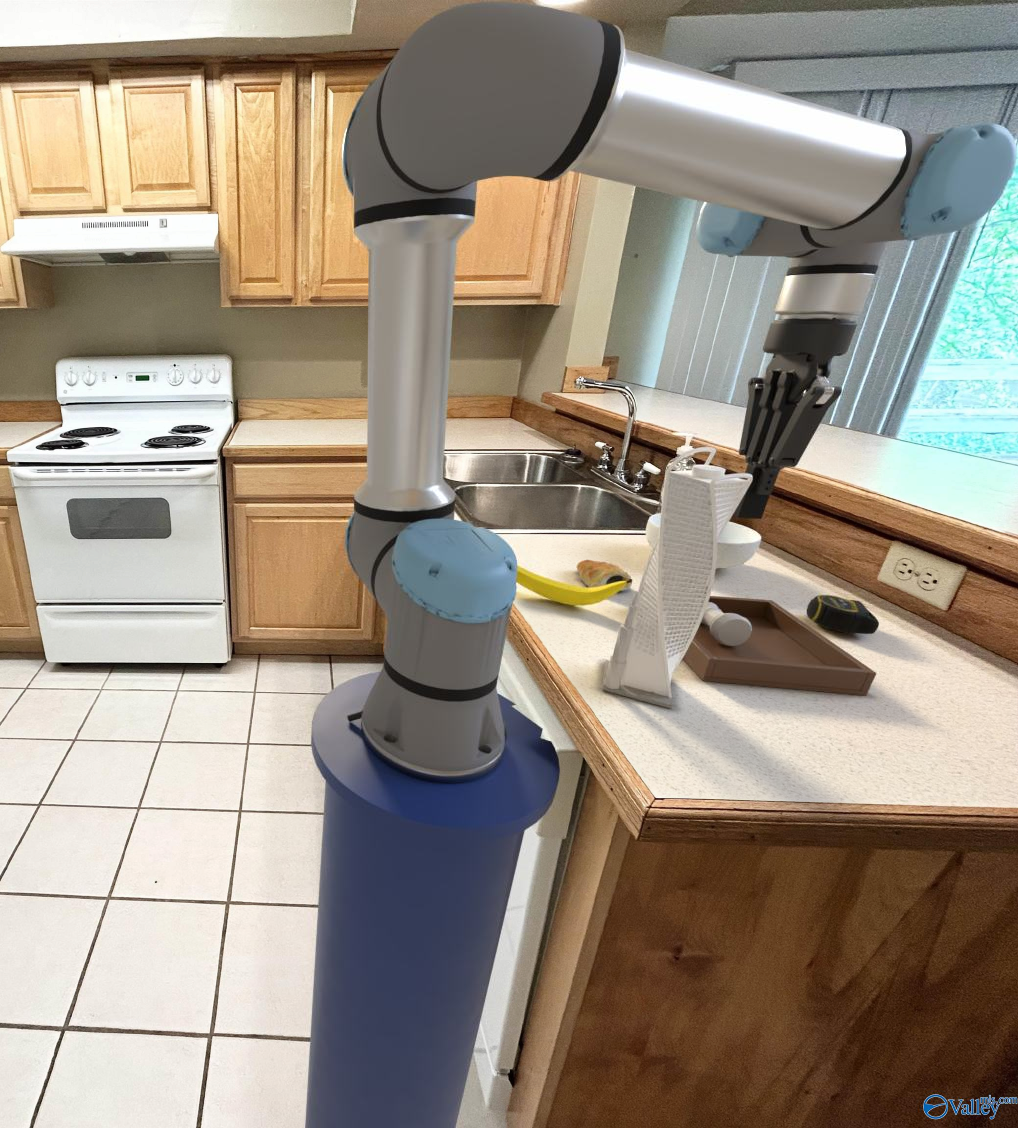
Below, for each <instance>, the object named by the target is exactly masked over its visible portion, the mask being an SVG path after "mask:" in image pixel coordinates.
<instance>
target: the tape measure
mask: <svg viewBox="0 0 1018 1128" xmlns="http://www.w3.org/2000/svg"><path fill="white" fill-rule="evenodd" d="M806 616H807V618H808V619H809V620H810V621H812V622H813V623H814V624H816V625H818V626H821V628H824V629H829V630H832V631H835V632H836V631H837V632H839V633H847V634H848V633H849V634H859V635H872V634H874V633H876V632H877V630H878V628H879V626H880V622H879V619H878V618H877V617H876V616H875V615H874V614H873V613H872V612H871V611H870V610H869V609H868V608H867V607H866V606H865V604H864V603H862V601H859V600H856V599H847V598H845V597H840V596H838V595H832V594H819V595H816V596H814V597H813V598H812V599H810V601H809V603H808V605H807V607H806Z"/></svg>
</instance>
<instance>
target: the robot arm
mask: <svg viewBox="0 0 1018 1128" xmlns="http://www.w3.org/2000/svg"><path fill="white" fill-rule="evenodd" d="M1016 145H1017V143H1016V141H1015V138H1014V136H1013V135H1012V134H1011V132H1010V131H1009V130H1008V129H1007V128H1006V127H1005V126H1003V125H1001V124H998V123H993V122H985V123H983V122H982V123H977V124H972V125H966V126H961V125H957V126H953V127H949V128H947V129H945V130H944V131H941V132H937V133H922V132H917V131H914V130H909V129H906V128H901V127H898V126H895V125H892V124H888V123H885V122H881V121H878V120H873V119H871V118H870V119H869V118H867V117H863V116H861V115H857V114H854V113H853V114H852V113H849V112H845V111H843V110H838V109H836V108H832V107H829V106H824V105H821V104H817V103H814V102H811V101H807V100H803V99H800V98H797V97H793V96H790V95H787V94H784V93H779V92H776V91H773V90H769V89H766V88H762V87H759V86H755V85H751V84H748V83H745V82H741V81H737V80H734V79H730V78H728V77H723V76H721V75H716V74H713V73H709V72H707V71H704V70H703V71H702V70H699V69H696V68H692V67H689V66H686V65H682V64H679V63H675V62H671V61H668V60H664V59H661V58H658V57H654V56H651V55H647V54H643V53H640V52H637V51H633V50H630V49H626V43H625V36H624V33H623V31H622V30H621V28H620V27H619V25H616V24H612V23H609V22H606V21H603V20H600V19H595V18H592V17H589V16H586V15H583V14H581V13H576V12H572V11H571V12H570V11H566V10H562V9H558V8H553V7H548V6H543V5H536V4H531V3H530V4H529V3H523V2H515V1H514V2H512V1H505V0H503V1H501V0H500V1H495V0H494V1H487V0H486V1H485V0H484V1H478V2H471V3H463V4H460V5H456V6H453V7H451V8H448V9H446V10H444V11H441V12H439V13H437V14H435V15H433V16H432V17H431V18H429V19H428V20H427V21H425V22H424V23H422V24H421V25H420V26H418V28H416V29H415V31H413V32H412V33H411V35H410V36H409V37H408V38H407V39H406V40H405V42H404V43H403V44H402V45H401V47H400V48H399V50H398V51H397V53H396V55H394V56H393V58H392V59H391V61H390V62H389V63H388V64H387V65H386V67H385V68H384V69H383V70H382V72H381V73H380V74H379V75H378V76H376V78H374V79H373V80H372V81H371V82H370V83H369V85H367V86H366V88H365V90H364V91H363V92H362V94H361V96H360V97H359V98H358V99H357V102H356V104H355V106H354V108H353V109H352V112H351V115H350V118H349V120H348V123H347V125H346V128H345V131H344V135H343V141H342V148H341V165H342V172H343V177H344V180H345V183H346V186H347V189H348V191H349V193H350V194H351V196H352V198H353V200H352V201H353V234H354V235H355V237H356V238H357V239H358V240H359V241H360V243H362V245H364V246H365V248H366V250H367V252H368V278H367V279H368V281H367V282H368V286H367V287H368V288H367V289H368V290H367V291H368V292H367V294H368V295H367V297H368V298H367V299H368V300H367V412H366V413H367V415H366V417H367V421H366V423H367V424H366V425H367V427H366V428H367V430H366V431H367V432H366V433H367V434H366V479H365V480H364V481H363V482H362V483H361V485H359V487H357V488H356V489H355V491H354V492H353V513H352V514H351V515H350V517H349V519H348V522H347V524H346V527H345V531H344V545H345V546H344V547H345V551H346V556H347V559H348V562H349V564H350V567H351V569H352V570H353V572H354V574H355V575H356V576H357V577H358V579H359V580H360V581H361V582H362V583H363V584H364V586H365V588H366V589H367V590H368V591H369V593H370V594H371V596H372V597H373V598H374V600H375V601H376V603H377V604H378V606H379V607H380V609H381V610H382V612H383V613H384V615H385V616H386V632H385V642H384V655H383V663H382V668H381V670H380V671H381V672H380V671H379V672H380V674H379V676H378V678H377V680H376V682H375V684H374V686H373V688H372V690H371V692H370V694H369V696H368V698H367V700H366V702H365V704H364V707H363V710H362V711H361V712H358V713H354V714H351V715H348V716H347V718H348V721H349V722H350V721H354V720H357V719H360V718H361V733H362V737H363V739H364V741H365V743H366V745H367V747H368V748H369V749H370V751H371V752H372V753H373V754H374V755H375V756H376V757H377V758H378V759H380V760H381V761H382V762H383V763H385V764H386V765H388V766H389V767H391V768H393V769H394V770H396V771H398V772H400V773H403V774H405V775H407V776H410V777H413V778H416V779H419V780H423V781H428V782H434V783H443V784H458V783H467V782H471V781H475V780H478V779H481V778H483V777H485V776H487V775H488V774H490V773H491V772H493V771H494V770H495V769H496V768H497V767H498V765H499V764H500V762H501V760H502V756H503V751H504V746H505V735H506V742H507V733H506V726H505V720H504V724H503V719H502V714H501V709H500V704H499V699H498V694H499V693H498V689H497V686H498V681H499V680H498V679H499V674H500V670H501V666H502V660H503V655H504V649H505V644H506V639H507V635H508V627H509V622H510V618H511V613H512V608H513V603H514V601H516V597H517V587H518V586H517V581H516V579H517V565H518V559H517V556H516V554H515V551H514V550H513V548H512V547H511V545H510V544H509V543H508V542H507V541H506V540H505V539H504V538H502V537H501V536H500V535H498V534H497V533H495V532H494V531H492V530H490V529H488V528H486V527H483V526H474V525H473V524H472V523H471V522H468V521H463V520H458V519H455V514H456V513H455V511H456V491H455V490H454V489H453V488H452V487H451V486H450V485H449V484H448V483H447V482H446V481H445V479H444V462H445V444H446V430H447V415H448V414H447V412H448V411H447V410H448V398H449V397H448V396H449V381H450V379H449V377H450V365H451V363H450V362H451V348H452V347H451V346H452V330H453V329H452V328H453V314H454V313H453V312H454V311H453V310H454V297H455V296H454V295H455V294H454V293H455V281H456V280H455V279H456V262H457V245H458V243H459V240H460V239H461V238H462V237H463V236H464V234H465V233H466V232H467V231H468V230H469V229H470V228H471V226H472V225H474V224H475V218H476V204H477V191H478V181H483V180H488V179H493V178H501V177H502V178H503V177H519V178H520V177H522V178H529V179H534V180H537V181H538V180H539V181H543V182H547V183H550V182H555V181H558V180H559V179H561V178H563V177H564V176H565V175H566V174H568V173H570V172H573V173H577V174H580V175H581V174H582V175H585V176H589V177H595V178H599V179H603V180H607V181H612V182H616V183H620V184H624V185H629V186H634V187H638V188H641V189H647V190H651V191H655V192H659V193H664V194H668V195H671V196H676V197H680V198H685V199H689V200H692V201H693V200H695V201H697V202H702V203H703V204H702V206H701V208H700V211H699V216H698V218H697V223H696V226H695V227H696V228H695V234H696V235H695V236H696V240H697V243H698V245H699V246H700V248H701V249H702V250H704V251H705V252H706V253H709V254H713V255H722V256H727V257H728V258H733V257H780V258H781V257H784V258H788V259H789V258H790V262H789V265H788V268H787V272H786V274H785V277H784V280H783V284H782V287H781V290H780V293H779V296H778V299H777V303H776V306H775V309H774V311H773V312H774V314H775V315H778V318H777V319H774V320H773V321H772V322H771V323H770V324H769V328H768V331H767V334H766V337H765V339H764V344H763V346H762V351H763V352H764V353H766V354H772V355H773V356H772V357H771V360H770V361H769V363H768V365H767V366H766V368H765V373H763V374H762V375H761V376H760V377H757V376H756V377H755V376H752V377H750V378H749V380H748V382H747V388H748V392H747V393H748V399H747V404H746V408H745V409H746V410H745V414H744V419H743V420H744V421H743V426H742V432H741V436H740V437H741V438H740V442H739V448H738V455H739V456H743V457H745V463H746V464H747V466H746V469H745V471H744V473H748V474H751V475H752V477H753V480H752V482H751V484H750V486H749V488H748V489H747V491H746V493H745V495H744V496H743V498H742V500H741V501H740V503H739V505H738V507H737V508H736V510H735V512H734V513H733V515H732V516H734V517H736V518H739V519H753V520H762V519H763V516H764V513H765V510H766V507H767V506H768V505H767V504H768V503H769V499H770V496H771V494H772V492H773V491H774V487H775V484H776V482H777V480H778V476H779V473H780V472H781V470H783V469H786V468H795V467H796V466H797V465H798V464H799V463H800V461H801V458H802V457H803V456H804V453H805V451H806V450H807V448H808V446H809V444H810V443H811V441H812V439H813V438H814V435H815V434H816V432H817V430H818V428H819V426H820V424H821V423H822V421H823V420H824V418H825V416H826V414H827V413H828V411H829V408H830V407H831V406H833V404H834V403H835V402H836V400H837V399H839V397H840V396H841V395H842V392H843V388H842V387H841V386H832V385H831V383H830V381H829V380H828V379H829V378H830V376H831V372H832V370H831V369H832V368H831V366H832V361H833V358H834V357H840V356H843V355H845V354H847V352H848V351H849V349H850V346H851V344H852V340H853V338H854V335H855V332H856V330H857V328H858V323H857V321H856V320H852V317H853V316H857V315H859V314H861V313H862V312H863V310H864V306H865V303H866V300H867V298H868V295H869V293H870V291H871V287H872V284H873V281H874V278H875V275H876V274H877V272H878V270H879V265H880V261H881V260H882V257H883V254H884V252H885V249H886V246H887V244H888V242H897V241H905V240H907V241H909V242H913V241H914V242H915V241H918V240H921V239H922V238H926V237H932V236H933V237H934V236H939V235H945V234H951V233H956V232H959V231H961V230H963V229H966V228H967V227H969V226H971V225H973V224H974V223H976V222H978V221H979V220H981V219H982V218H983V217H984V216H985V215H987V213H988V212H990V211H991V210H992V209H993V208H994V206H995V205H996V204H997V203H998V201H1000V199H1001V197H1002V196H1003V195H1004V191H1005V189H1006V186H1007V185H1008V183H1009V181H1010V180H1011V179H1012V177H1013V174H1014V172H1015V167H1016V162H1017V146H1016ZM742 479H744V480H748V479H747V478H742ZM497 693H498V694H497Z"/></svg>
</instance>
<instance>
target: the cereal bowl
mask: <svg viewBox="0 0 1018 1128" xmlns="http://www.w3.org/2000/svg"><path fill="white" fill-rule="evenodd" d="M660 516H661V512H659V513H654V514H652V515H651V516H649V518H648V520H647V523H646V527H645V539H646V541H647V543H648V545H649V546H650V548H652V549H653V548H654V545H655V543H656V541H657V539H658V537H659V527H660ZM761 542H762V536H761V534H760V533H758V532H757V531H756V530H754V529H752V528H750V527H748V526H745V525H742V524H739V523H736V522H732V521H729V522H728V524H727V525H726V527H725V529H724V530H723V532H722V534H721V535H720V537H719V538H718V540H717V561H716V570H718V569H728V568H729V569H730V568H735V567H739V566H741V565H744V564H745V563H747V562H748V561H750V560H751V559H752V558H753V557H754V556H755V554H756V553H757V551H758V549H759V547H760V545H761Z"/></svg>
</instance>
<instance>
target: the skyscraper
mask: <svg viewBox="0 0 1018 1128" xmlns="http://www.w3.org/2000/svg"><path fill="white" fill-rule="evenodd" d="M702 452H709V453H710V454H709V455H708V457H707V459H706V461H705V462H704V464H693V465H692V468H691V469H688V470H673V469H674V468H675V467H676V465H677V464H678V463H679V462H680V461H681V460H682V459H683V458H686V457H688V456H690V455H693V454H696V453H702ZM716 453H717V450H716V448H714V447H711V446H702V447H696V448H693V449H690V450H688V451H685V452H684V453H682V454H680V455H679V456H678V457H677V458H676V459H675V460H674V461H673V462H671V464H670V465H669V467H668V468H667V469H666V471H665V475H664V482H663V491H662V500H661V508H660V513H661V516H660V527H659V537H658V539H657V541H656V543H655V545H654V548H652V550H651V552H650V554H649V556H648V560H647V562H646V565H645V568H644V571H643V573H642V577H641V579H640V582H639V583H640V584H639V586H638V590H635V592H634V595H633V600H632V603H631V604H629V605H628V608H627V614H626V617H625V621H624V623H621V624H620V626H619V629H618V633H617V637H616V641H615V645H614V648H613V653H612V655H610V657H609V660H607V659H606V660H605V662H604V669H603V677H602V685H601V690H602V691H605V692H608V693H612V694H615V695H619V696H623V697H627V698H630V699H634V700H638V701H642V702H644V703H649V704H652V705H655V706H660V707H664V708H667V709H673V693H672V691H673V690H672V677H673V675H674V674H675V672H676V670H677V669H678V667H679V665H680V664H681V662H682V661H683V659H682V658H683V657H684V655H685V653H686V651H687V649H688V648H689V646H690V644H691V642H692V640H693V638H694V636H695V634H696V632H697V630H698V628H699V625H700V623H701V620H702V618H703V616H704V613H705V610H706V607H707V604H708V601H709V598H710V596H711V595H712V591H713V586H714V581H715V575H716V570H717V569H716V561H717V540H718V538H719V537H720V535H721V534H722V532H723V530H724V529H725V527H726V525H727V524H728V522H730V521H731V519H732V517H733V516H734V515H733V513H734V512H735V510H736V508H737V507H738V505H739V503H740V501H741V500H742V498H743V496H744V495H745V493H746V491H747V489H748V488H749V486H750V484H751V482H752V480H753V477H752V475H751V474H748V473H745V472H742V473H741V472H740V473H738V472H737V473H730V474H725V473H726V470H727V469H726V468H724V467H721V466H717V465H710V464H711V462H712V460H713V459H714V456H715V454H716ZM743 478H747V479H748V480H744V479H743Z"/></svg>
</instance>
